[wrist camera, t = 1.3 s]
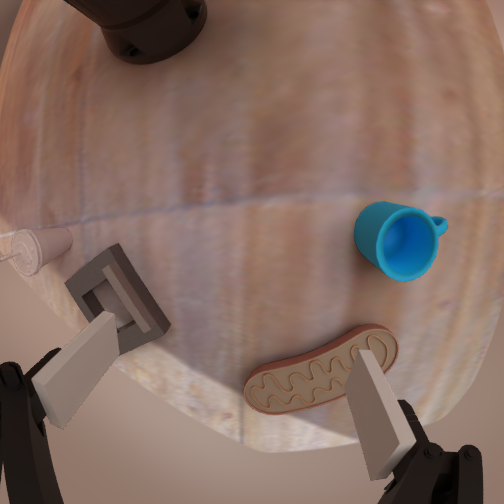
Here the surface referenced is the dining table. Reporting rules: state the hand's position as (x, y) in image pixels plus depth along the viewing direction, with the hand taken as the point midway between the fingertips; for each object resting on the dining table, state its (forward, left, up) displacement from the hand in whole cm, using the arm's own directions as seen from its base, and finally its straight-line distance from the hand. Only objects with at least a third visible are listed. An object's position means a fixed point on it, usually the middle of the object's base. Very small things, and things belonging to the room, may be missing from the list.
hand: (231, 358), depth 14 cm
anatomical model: (+19, 0, -24) cm, 31 cm away
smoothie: (-16, -25, -24) cm, 38 cm away
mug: (+7, +18, -24) cm, 30 cm away
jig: (-3, -22, -23) cm, 32 cm away
